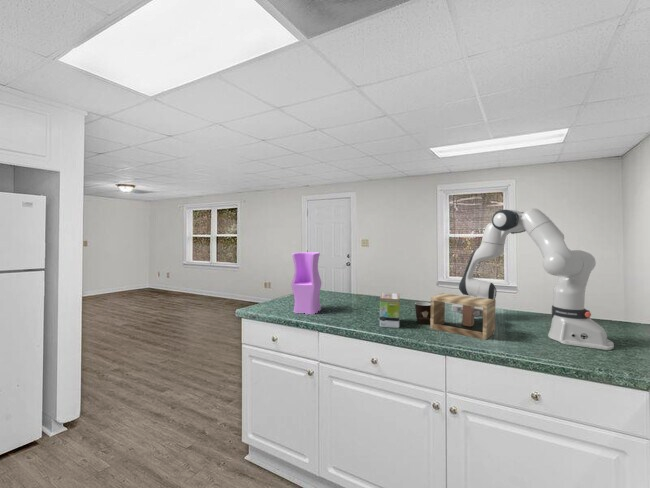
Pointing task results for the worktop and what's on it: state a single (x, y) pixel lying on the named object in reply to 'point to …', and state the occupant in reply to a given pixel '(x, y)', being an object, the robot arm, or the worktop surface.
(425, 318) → the coffee mug
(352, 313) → the worktop surface
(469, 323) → the block
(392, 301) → the tea box
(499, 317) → the worktop surface
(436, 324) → the shelf
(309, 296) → the container
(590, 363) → the worktop surface
